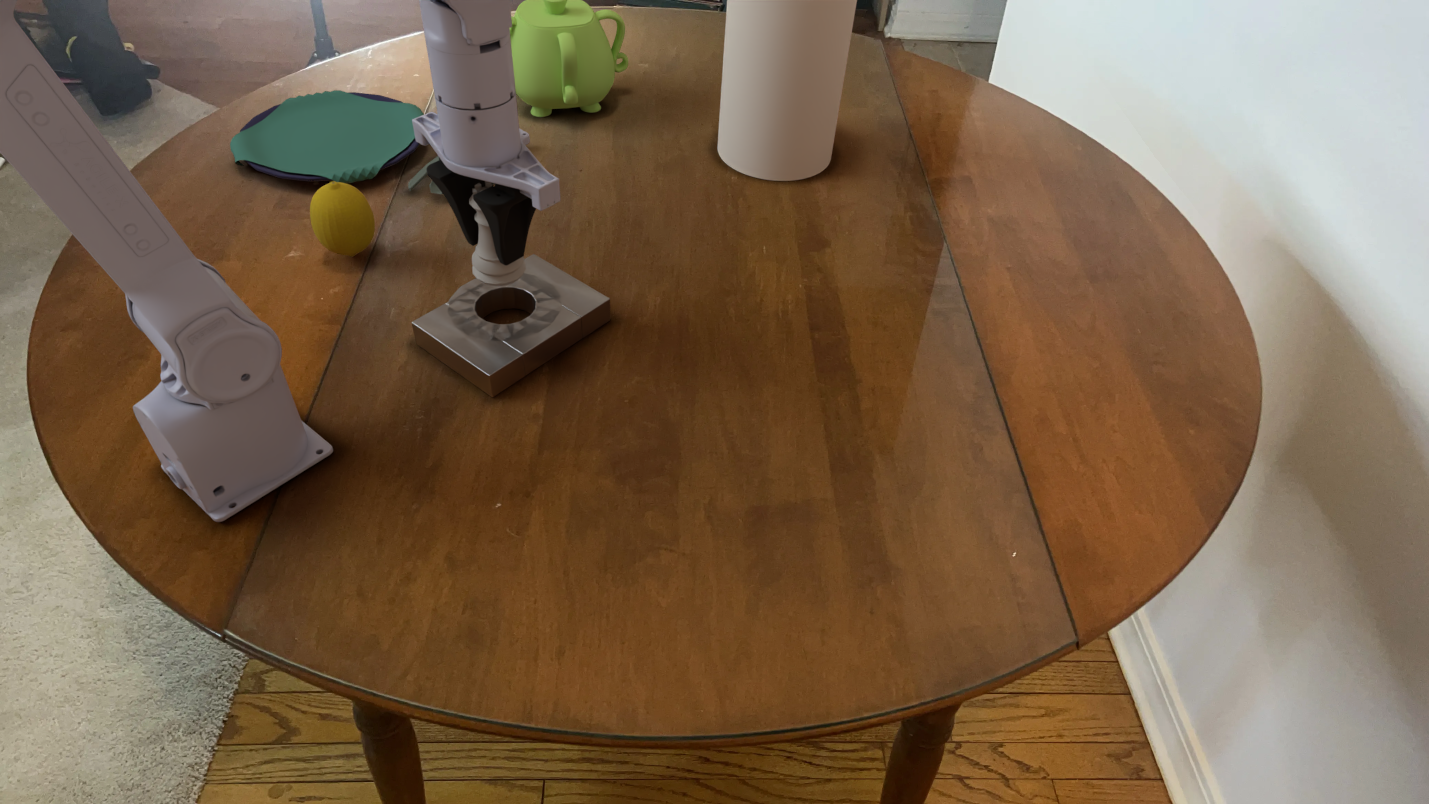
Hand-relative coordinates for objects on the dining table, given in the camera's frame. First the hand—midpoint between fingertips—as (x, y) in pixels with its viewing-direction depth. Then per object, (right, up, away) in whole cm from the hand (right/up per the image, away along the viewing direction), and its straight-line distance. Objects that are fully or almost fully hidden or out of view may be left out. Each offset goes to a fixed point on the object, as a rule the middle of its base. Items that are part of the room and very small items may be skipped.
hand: (496, 249), depth 74 cm
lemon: (-17, +1, +13) cm, 22 cm away
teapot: (-2, +26, +40) cm, 48 cm away
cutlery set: (-20, +15, +27) cm, 36 cm away
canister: (+25, +17, +33) cm, 45 cm away
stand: (0, -6, +6) cm, 9 cm away
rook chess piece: (0, -2, +2) cm, 3 cm away
